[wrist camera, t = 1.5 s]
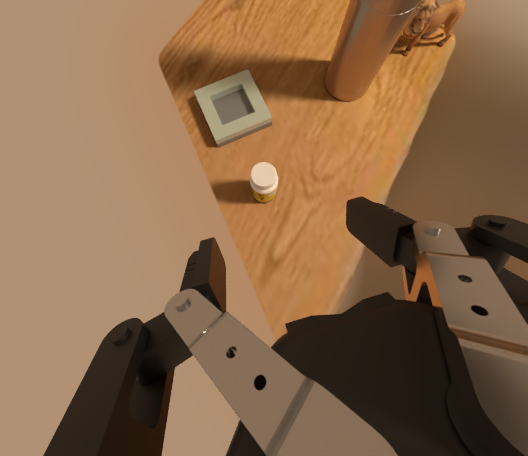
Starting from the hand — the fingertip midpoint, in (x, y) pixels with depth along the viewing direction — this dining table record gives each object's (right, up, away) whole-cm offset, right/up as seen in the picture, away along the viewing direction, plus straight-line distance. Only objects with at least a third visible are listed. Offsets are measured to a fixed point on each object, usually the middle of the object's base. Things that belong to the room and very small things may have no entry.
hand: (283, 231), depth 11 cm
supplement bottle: (-1, +7, +26) cm, 27 cm away
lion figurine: (+32, +39, +30) cm, 59 cm away
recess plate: (-7, +25, +28) cm, 38 cm away
